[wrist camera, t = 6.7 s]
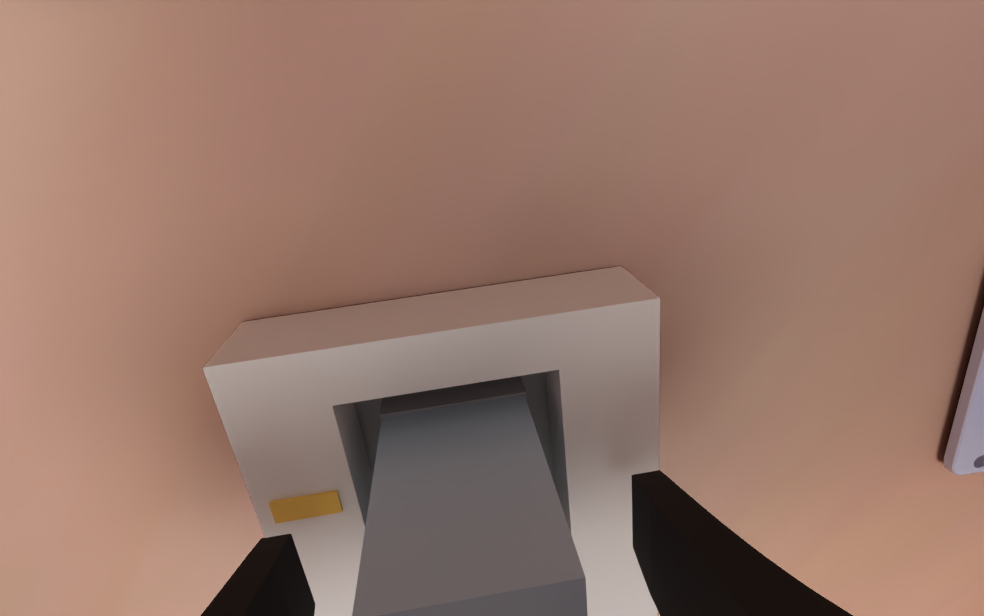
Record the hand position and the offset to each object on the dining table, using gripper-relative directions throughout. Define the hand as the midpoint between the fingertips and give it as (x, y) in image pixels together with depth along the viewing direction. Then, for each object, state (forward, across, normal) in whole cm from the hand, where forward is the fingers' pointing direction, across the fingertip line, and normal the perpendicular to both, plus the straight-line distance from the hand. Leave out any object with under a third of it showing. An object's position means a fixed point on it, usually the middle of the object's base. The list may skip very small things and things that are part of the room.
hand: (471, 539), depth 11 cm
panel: (+4, 0, +4) cm, 6 cm away
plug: (+4, 0, 0) cm, 4 cm away
